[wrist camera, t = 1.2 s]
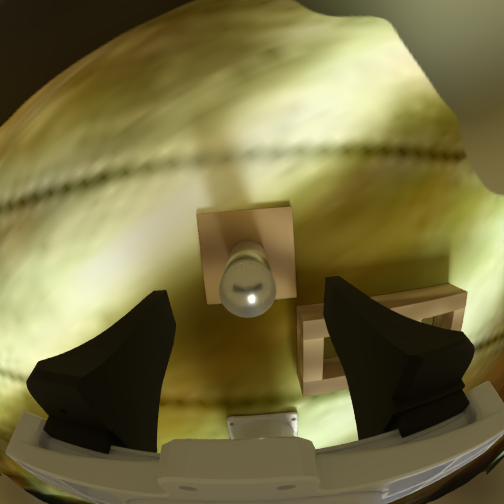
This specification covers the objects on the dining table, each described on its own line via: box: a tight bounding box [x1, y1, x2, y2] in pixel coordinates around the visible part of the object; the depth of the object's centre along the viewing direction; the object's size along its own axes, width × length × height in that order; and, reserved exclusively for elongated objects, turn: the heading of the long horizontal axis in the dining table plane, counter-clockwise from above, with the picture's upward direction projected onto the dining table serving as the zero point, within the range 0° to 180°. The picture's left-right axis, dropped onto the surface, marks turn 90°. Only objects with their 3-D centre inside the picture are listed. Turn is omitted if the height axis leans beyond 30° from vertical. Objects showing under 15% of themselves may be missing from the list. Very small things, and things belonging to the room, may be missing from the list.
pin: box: [219, 240, 276, 318], centre depth 19 cm, size 3×3×10 cm
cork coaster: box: [197, 207, 297, 305], centre depth 24 cm, size 8×8×1 cm
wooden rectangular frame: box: [296, 283, 467, 397], centre depth 24 cm, size 8×18×4 cm, turn 95°
